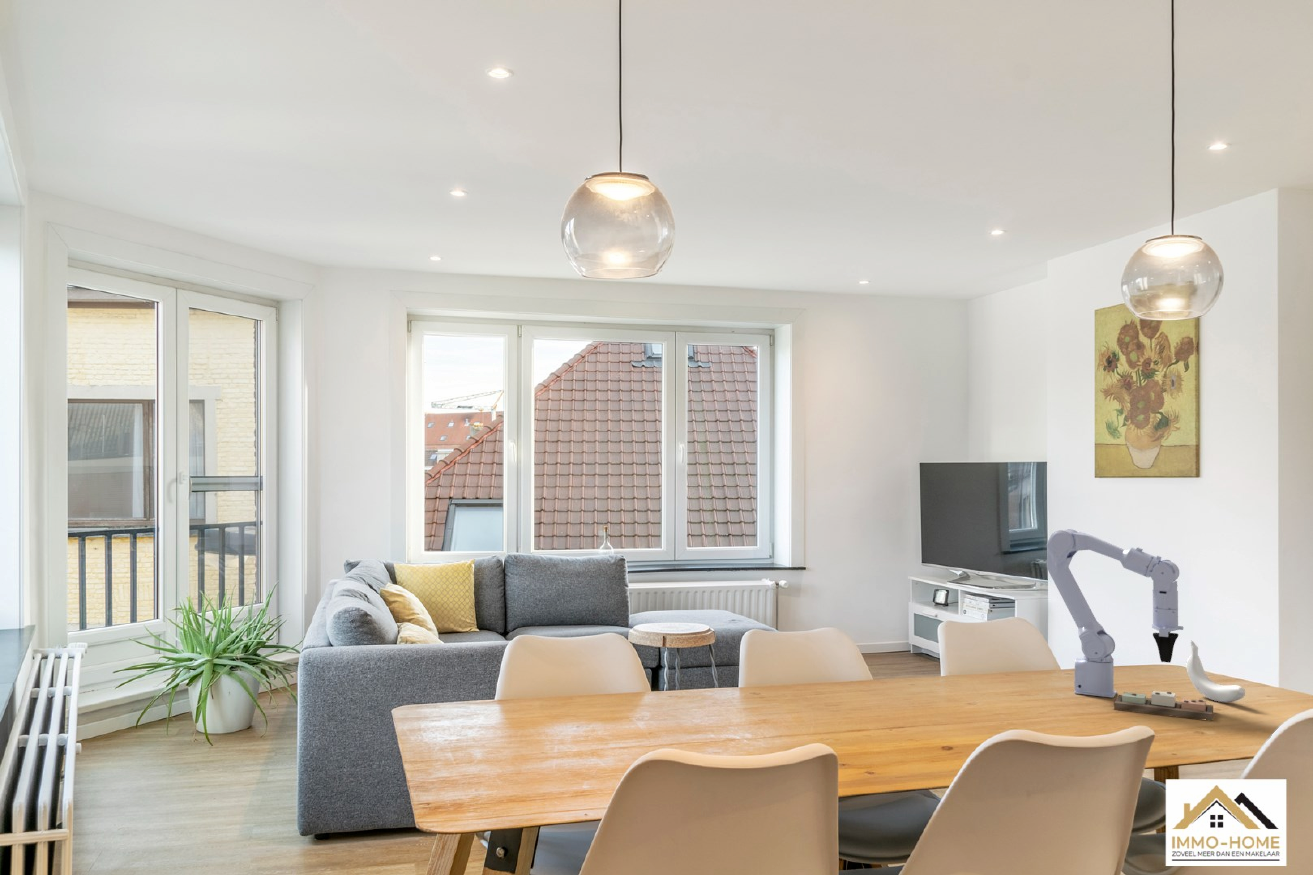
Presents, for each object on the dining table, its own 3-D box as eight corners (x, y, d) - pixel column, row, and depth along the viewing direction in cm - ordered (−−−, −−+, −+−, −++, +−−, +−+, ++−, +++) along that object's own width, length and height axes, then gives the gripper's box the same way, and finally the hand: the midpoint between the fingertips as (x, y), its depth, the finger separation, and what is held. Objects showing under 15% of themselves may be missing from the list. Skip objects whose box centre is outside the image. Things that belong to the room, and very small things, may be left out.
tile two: (1151, 704, 239) (1151, 693, 239) (1152, 700, 243) (1152, 689, 244) (1174, 706, 237) (1174, 695, 237) (1175, 702, 241) (1175, 691, 241)
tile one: (1122, 705, 242) (1121, 694, 243) (1124, 701, 247) (1124, 690, 247) (1144, 707, 240) (1144, 696, 240) (1146, 704, 244) (1146, 693, 244)
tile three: (1181, 712, 236) (1181, 701, 236) (1182, 708, 240) (1182, 697, 240) (1205, 715, 233) (1205, 703, 233) (1205, 711, 238) (1205, 699, 238)
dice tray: (1114, 709, 241) (1114, 702, 241) (1118, 700, 250) (1118, 694, 250) (1212, 720, 230) (1211, 714, 230) (1213, 711, 239) (1213, 705, 239)
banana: (1240, 710, 242) (1239, 650, 242) (1180, 694, 260) (1179, 638, 261) (1256, 709, 243) (1255, 650, 244) (1195, 693, 261) (1194, 638, 262)
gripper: (1181, 612, 241) (1182, 667, 241) (1184, 606, 254) (1185, 659, 253) (1149, 610, 245) (1150, 664, 244) (1154, 604, 257) (1154, 656, 257)
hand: (1165, 661), depth 249 cm, fingers closed
